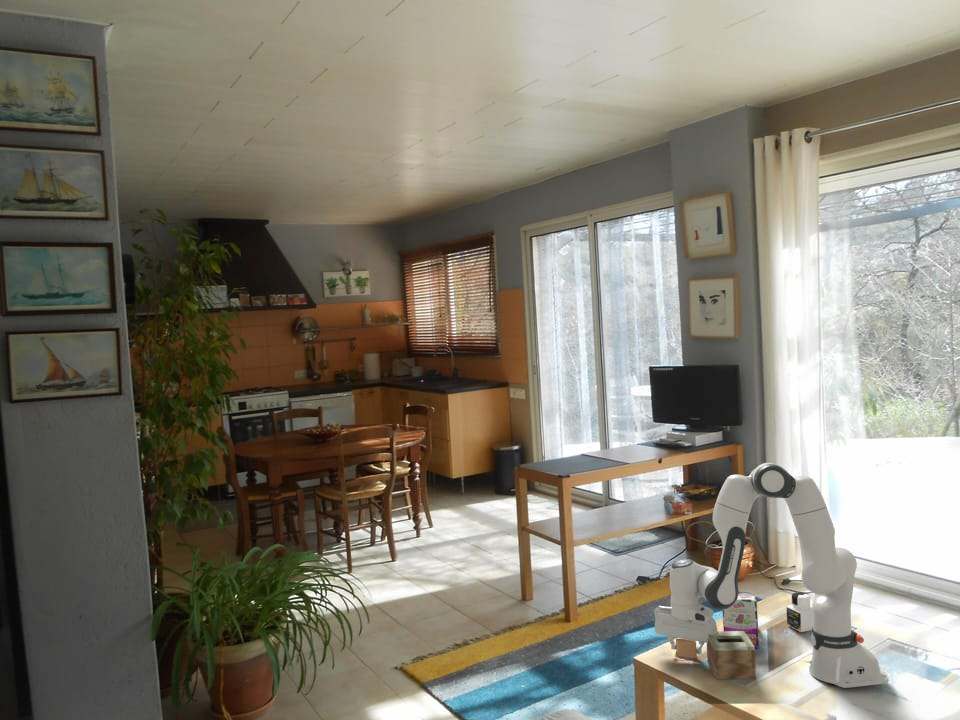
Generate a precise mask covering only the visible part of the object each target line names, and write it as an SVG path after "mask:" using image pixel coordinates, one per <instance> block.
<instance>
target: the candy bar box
mask: <svg viewBox="0 0 960 720" xmlns="http://www.w3.org/2000/svg"><path fill="white" fill-rule="evenodd" d="M756 600H757V596H756V595H755V596H746V595H738V598H737V600H736V602H735V603H734V604H733V605H732V606H731V607H729V608H727V609H722V620H723V621H722V623H723V626H722V627H723V631H744V632H745V633H746V635H747V636H748V638H749V639H750V641H751V642H752V644H753V645H754V647H755V649H759V648H760V646H759V620H758V621H757V614H758V603H757V604H756Z"/></svg>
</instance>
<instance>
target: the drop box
mask: <svg viewBox="0 0 960 720" xmlns="http://www.w3.org/2000/svg"><path fill="white" fill-rule="evenodd" d="M755 649H756V648H755V647H754V645H753V644H752V642H751V641H750V639H749V638H748V636H747V635H746V633H745V632H744V631H724V630H722V631H721V630H720V631H718V630H717V633H716V634H715V635H714V636H713V635H709V634H708V643H706V656H707V657H706V658H707V664H708V666H709V668H710V670H711V673H712V675H713V676H714V678H715V680H754V679H755V680H756V679H757V678H756V677H757V676H756V675H757V674H756V673H757V670H756V651H755Z"/></svg>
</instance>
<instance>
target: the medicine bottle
mask: <svg viewBox="0 0 960 720" xmlns="http://www.w3.org/2000/svg"><path fill="white" fill-rule="evenodd" d="M785 609H786V625H787V626H788V627H789V628H791V629H794V630H796V631H797V632H800V633H804V632H808V631H812V627H813V612H812V606H811V596H810V595H809V594H808V593H807V592H801V591H797V592H793V593H792V594H791V604H790V605H786V608H785Z"/></svg>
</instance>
